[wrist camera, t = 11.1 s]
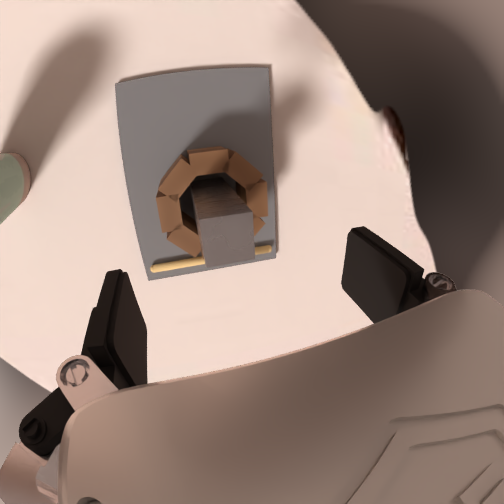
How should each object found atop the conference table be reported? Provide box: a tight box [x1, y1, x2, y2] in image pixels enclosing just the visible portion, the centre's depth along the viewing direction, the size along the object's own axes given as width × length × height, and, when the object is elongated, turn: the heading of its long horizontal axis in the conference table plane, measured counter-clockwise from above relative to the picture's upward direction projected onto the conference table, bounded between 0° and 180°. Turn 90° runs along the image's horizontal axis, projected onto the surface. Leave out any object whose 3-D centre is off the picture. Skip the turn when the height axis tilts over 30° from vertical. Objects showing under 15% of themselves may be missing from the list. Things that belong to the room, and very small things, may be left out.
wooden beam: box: [190, 177, 255, 268], centre depth 20 cm, size 3×3×11 cm
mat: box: [115, 67, 276, 281], centre depth 24 cm, size 20×14×1 cm
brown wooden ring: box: [156, 146, 268, 259], centre depth 23 cm, size 9×9×4 cm
